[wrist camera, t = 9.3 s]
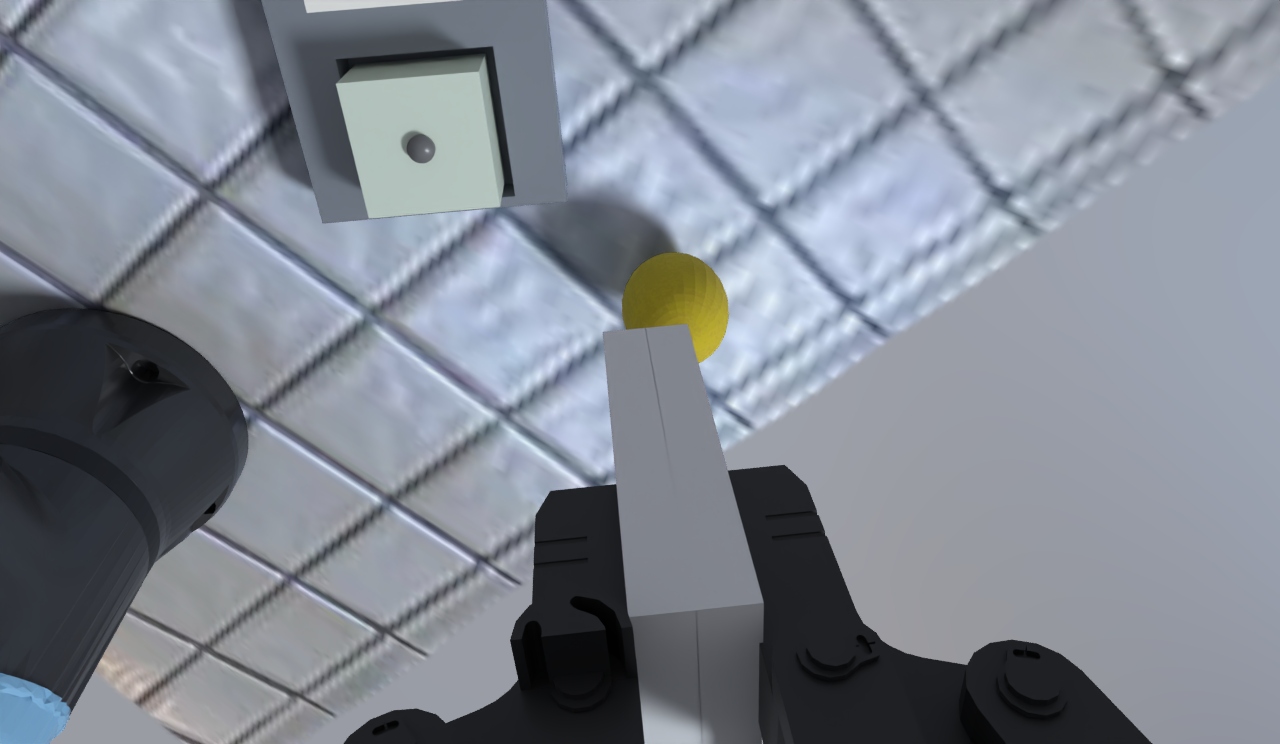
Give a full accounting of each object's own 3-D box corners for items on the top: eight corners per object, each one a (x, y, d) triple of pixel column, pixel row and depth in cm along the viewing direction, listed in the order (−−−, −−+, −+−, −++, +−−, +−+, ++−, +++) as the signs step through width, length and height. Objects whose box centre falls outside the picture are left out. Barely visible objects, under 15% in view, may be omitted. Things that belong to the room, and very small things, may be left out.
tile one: (384, 189, 42) (367, 221, 38) (355, 64, 39) (334, 85, 35) (505, 178, 42) (499, 208, 39) (485, 53, 39) (478, 72, 36)
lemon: (601, 296, 48) (607, 369, 41) (648, 214, 46) (663, 276, 39) (684, 334, 50) (704, 410, 43) (734, 256, 47) (763, 323, 41)
